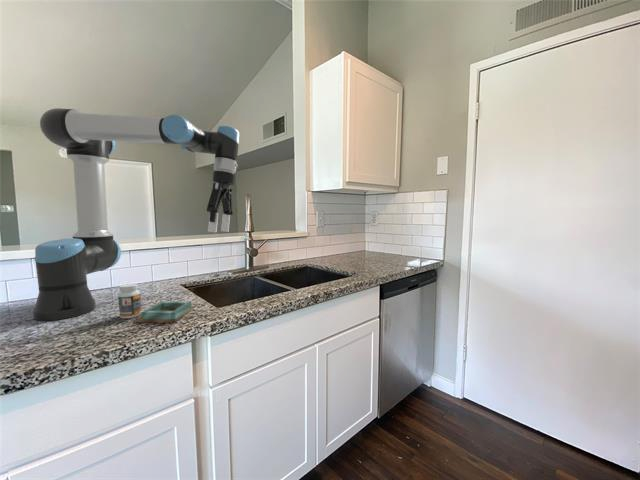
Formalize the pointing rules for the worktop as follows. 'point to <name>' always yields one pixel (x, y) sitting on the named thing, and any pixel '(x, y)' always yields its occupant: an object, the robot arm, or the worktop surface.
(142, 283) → the worktop surface
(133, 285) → the pill bottle
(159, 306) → the socket board
